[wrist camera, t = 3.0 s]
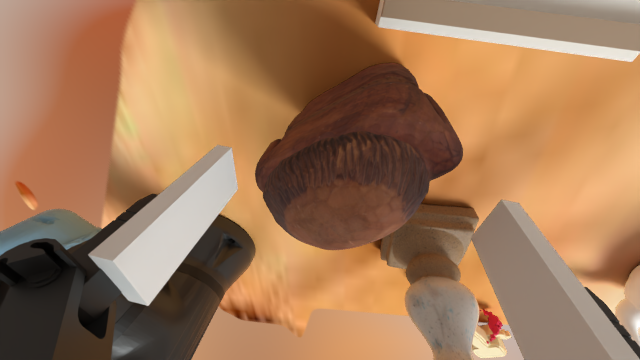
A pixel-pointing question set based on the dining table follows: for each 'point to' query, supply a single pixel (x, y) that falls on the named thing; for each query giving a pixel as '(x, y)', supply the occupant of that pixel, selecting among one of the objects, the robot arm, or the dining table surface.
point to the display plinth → (525, 23)
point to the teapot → (631, 305)
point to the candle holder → (437, 276)
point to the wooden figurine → (358, 160)
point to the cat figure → (490, 338)
